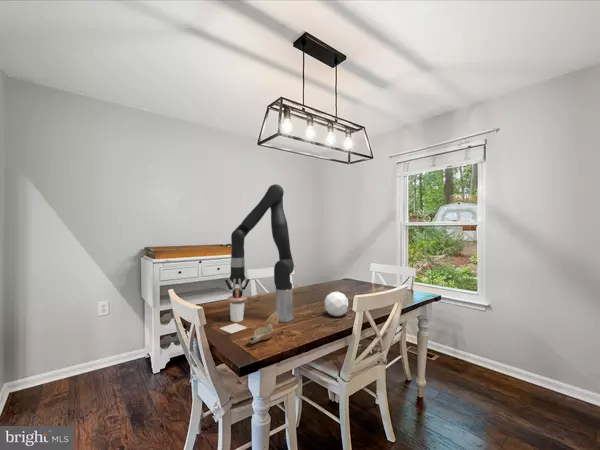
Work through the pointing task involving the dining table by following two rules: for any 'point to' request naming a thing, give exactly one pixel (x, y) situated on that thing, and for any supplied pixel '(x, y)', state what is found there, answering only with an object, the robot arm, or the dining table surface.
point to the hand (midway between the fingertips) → (237, 297)
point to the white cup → (237, 311)
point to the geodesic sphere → (336, 303)
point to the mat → (233, 328)
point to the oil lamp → (265, 329)
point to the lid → (237, 296)
